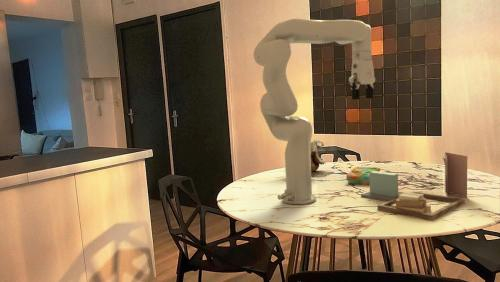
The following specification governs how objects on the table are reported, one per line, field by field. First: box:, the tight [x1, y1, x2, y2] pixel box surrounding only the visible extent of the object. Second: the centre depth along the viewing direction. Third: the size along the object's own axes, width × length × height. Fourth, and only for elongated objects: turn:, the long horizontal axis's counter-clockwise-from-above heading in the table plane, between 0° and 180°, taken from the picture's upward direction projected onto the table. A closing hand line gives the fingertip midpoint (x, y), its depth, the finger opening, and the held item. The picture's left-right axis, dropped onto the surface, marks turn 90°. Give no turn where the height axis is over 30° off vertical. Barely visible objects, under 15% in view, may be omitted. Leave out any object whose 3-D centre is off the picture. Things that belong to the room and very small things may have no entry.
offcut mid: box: [396, 198, 427, 209], centre depth 134 cm, size 6×8×2 cm
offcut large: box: [390, 203, 432, 214], centre depth 134 cm, size 7×10×2 cm
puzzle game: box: [345, 166, 381, 185], centre depth 184 cm, size 12×5×20 cm
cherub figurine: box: [310, 139, 335, 178], centre depth 202 cm, size 18×18×18 cm
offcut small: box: [399, 191, 423, 202], centre depth 134 cm, size 5×6×2 cm
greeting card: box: [442, 151, 468, 199], centre depth 150 cm, size 11×7×15 cm, turn 159°
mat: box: [360, 191, 405, 202], centre depth 155 cm, size 12×12×1 cm
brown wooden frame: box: [377, 191, 466, 221], centre depth 139 cm, size 24×18×2 cm
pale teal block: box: [369, 171, 399, 197], centre depth 154 cm, size 3×10×8 cm, turn 41°
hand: (362, 98), depth 168 cm, fingers open, 9 cm apart
